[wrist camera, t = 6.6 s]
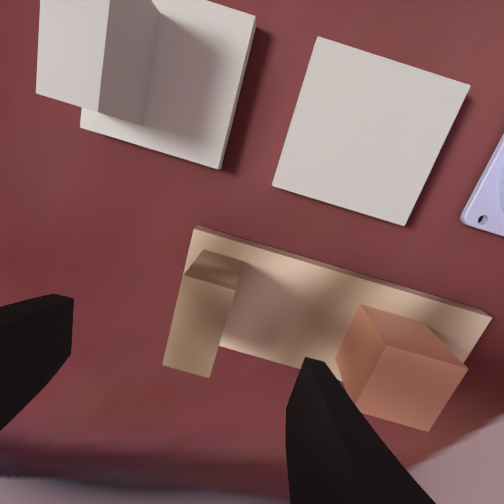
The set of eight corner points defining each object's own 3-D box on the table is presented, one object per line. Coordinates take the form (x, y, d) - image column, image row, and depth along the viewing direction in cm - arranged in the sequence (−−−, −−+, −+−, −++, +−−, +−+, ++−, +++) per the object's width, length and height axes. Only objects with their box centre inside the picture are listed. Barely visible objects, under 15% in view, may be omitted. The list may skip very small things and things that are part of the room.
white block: (457, 90, 14) (551, 53, 9) (396, 222, 16) (448, 246, 12) (107, -22, 14) (20, -121, 9) (91, 129, 16) (14, 114, 11)
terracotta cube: (423, 322, 17) (468, 369, 13) (394, 375, 18) (428, 431, 14) (359, 303, 17) (386, 345, 13) (335, 357, 18) (352, 410, 14)
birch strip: (480, 309, 17) (559, 363, 13) (427, 395, 20) (478, 470, 15) (198, 225, 17) (170, 248, 12) (174, 323, 19) (143, 376, 14)
